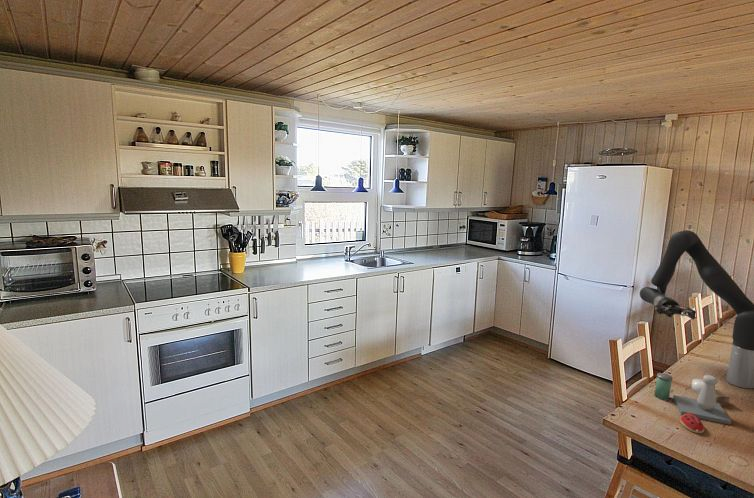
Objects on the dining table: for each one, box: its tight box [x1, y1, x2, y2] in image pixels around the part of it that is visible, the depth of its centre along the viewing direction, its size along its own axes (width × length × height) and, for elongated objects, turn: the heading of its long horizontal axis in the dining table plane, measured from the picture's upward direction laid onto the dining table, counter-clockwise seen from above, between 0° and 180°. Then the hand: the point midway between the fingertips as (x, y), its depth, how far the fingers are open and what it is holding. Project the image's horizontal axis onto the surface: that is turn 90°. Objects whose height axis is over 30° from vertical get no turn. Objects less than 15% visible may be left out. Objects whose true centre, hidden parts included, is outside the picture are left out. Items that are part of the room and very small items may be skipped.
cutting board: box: [672, 394, 732, 426], centre depth 160 cm, size 15×13×2 cm
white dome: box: [690, 378, 705, 395], centre depth 174 cm, size 7×7×4 cm
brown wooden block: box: [715, 389, 731, 407], centre depth 166 cm, size 5×5×4 cm
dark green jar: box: [653, 372, 673, 401], centre depth 169 cm, size 5×5×9 cm
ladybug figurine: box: [679, 413, 705, 434], centre depth 150 cm, size 7×10×4 cm
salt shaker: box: [696, 374, 718, 411], centre depth 158 cm, size 6×6×13 cm
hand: (682, 316), depth 178 cm, fingers open, 8 cm apart
